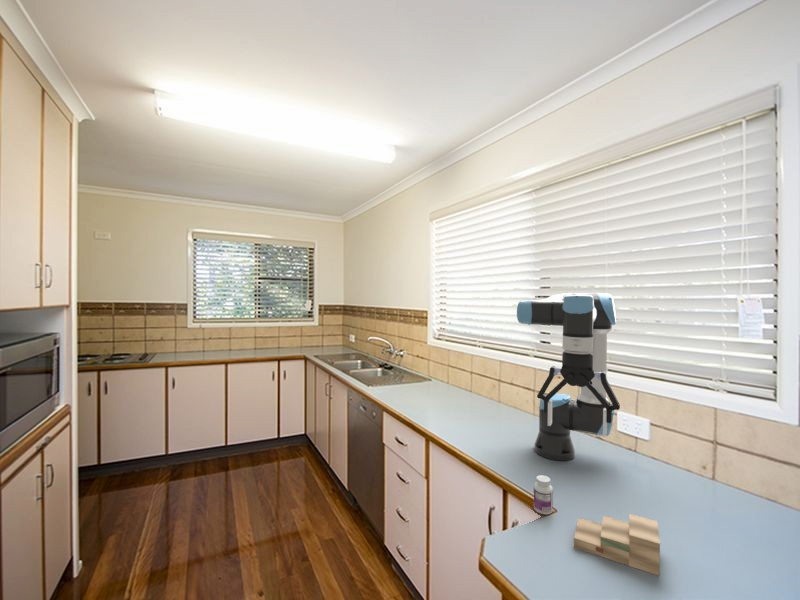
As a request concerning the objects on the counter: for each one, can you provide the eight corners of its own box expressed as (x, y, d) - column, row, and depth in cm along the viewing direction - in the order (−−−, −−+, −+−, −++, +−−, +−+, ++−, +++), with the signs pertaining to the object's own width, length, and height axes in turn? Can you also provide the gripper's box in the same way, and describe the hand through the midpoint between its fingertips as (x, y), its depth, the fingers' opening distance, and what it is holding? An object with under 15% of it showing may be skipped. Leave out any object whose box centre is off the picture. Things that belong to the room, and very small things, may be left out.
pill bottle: (537, 502, 116) (537, 472, 115) (555, 509, 112) (555, 477, 112) (530, 510, 112) (531, 478, 111) (549, 517, 108) (549, 484, 108)
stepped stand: (578, 526, 104) (578, 499, 104) (656, 550, 95) (657, 521, 94) (573, 548, 95) (574, 519, 95) (659, 576, 86) (660, 544, 86)
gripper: (526, 349, 105) (526, 424, 105) (631, 358, 91) (629, 443, 92) (532, 346, 111) (532, 416, 112) (631, 353, 98) (630, 433, 98)
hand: (576, 429), depth 102 cm, fingers open, 13 cm apart
